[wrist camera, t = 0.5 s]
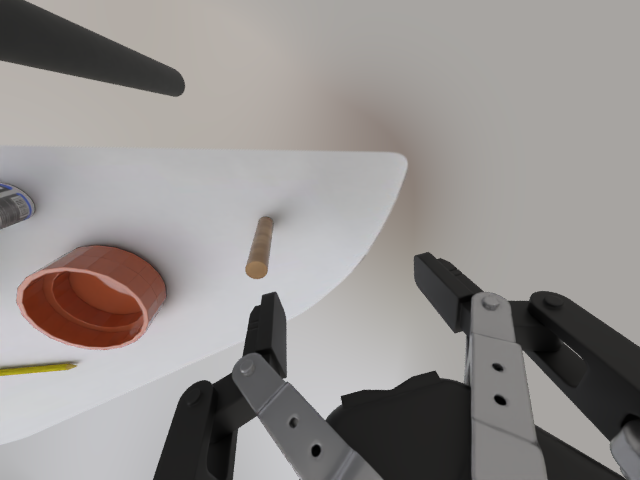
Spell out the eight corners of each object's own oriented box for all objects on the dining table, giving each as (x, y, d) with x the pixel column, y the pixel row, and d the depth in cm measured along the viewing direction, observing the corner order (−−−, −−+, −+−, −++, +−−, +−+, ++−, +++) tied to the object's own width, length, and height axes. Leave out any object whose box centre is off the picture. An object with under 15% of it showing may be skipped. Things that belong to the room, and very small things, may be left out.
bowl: (33, 268, 33) (-16, 296, 27) (119, 227, 32) (85, 249, 26) (114, 329, 39) (87, 362, 34) (187, 297, 38) (171, 326, 33)
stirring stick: (255, 220, 34) (241, 266, 23) (268, 214, 33) (260, 257, 23) (262, 232, 35) (252, 282, 24) (276, 226, 34) (271, 274, 24)
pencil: (-28, 374, 40) (-35, 380, 39) (-31, 370, 39) (-39, 376, 38) (81, 365, 42) (76, 370, 41) (78, 361, 41) (74, 366, 40)
